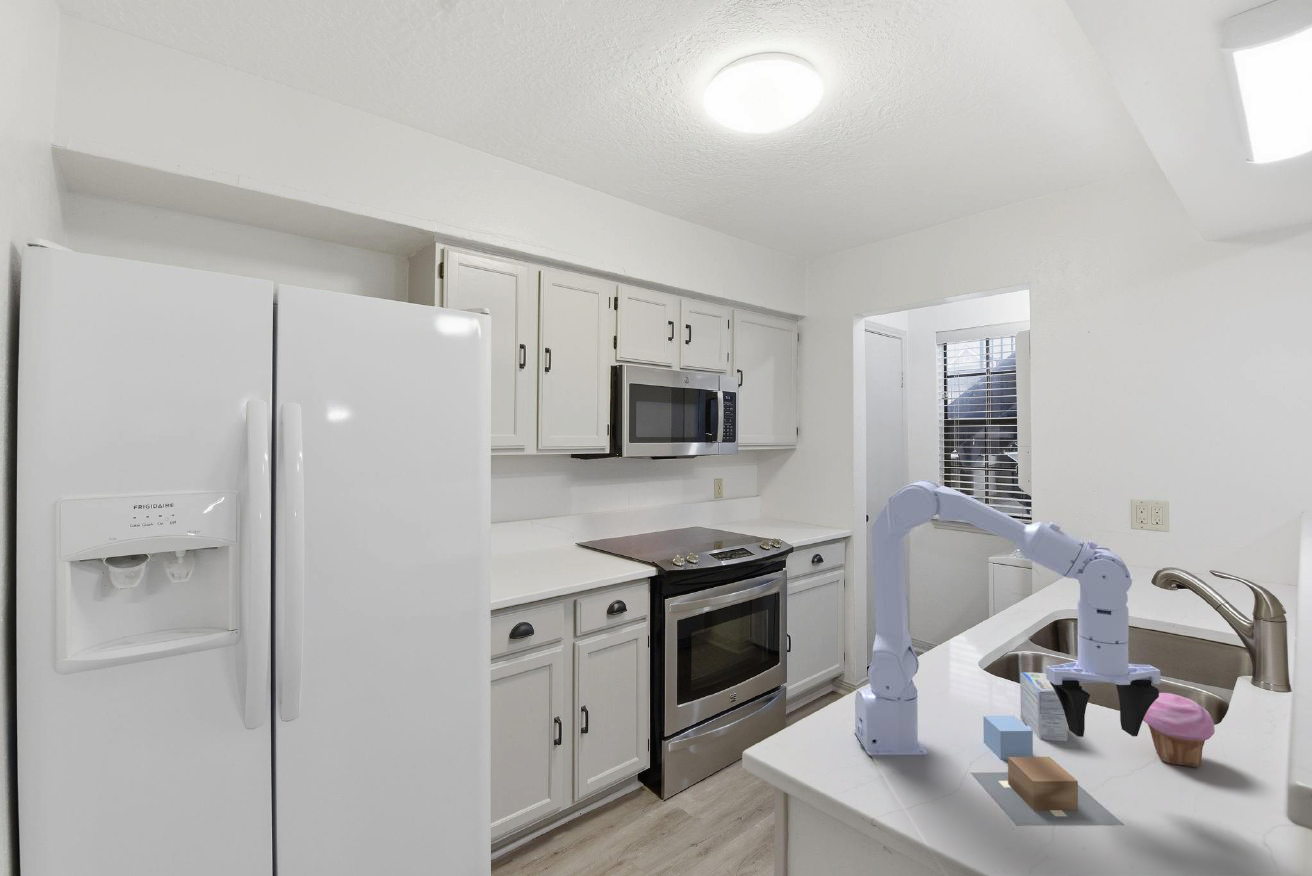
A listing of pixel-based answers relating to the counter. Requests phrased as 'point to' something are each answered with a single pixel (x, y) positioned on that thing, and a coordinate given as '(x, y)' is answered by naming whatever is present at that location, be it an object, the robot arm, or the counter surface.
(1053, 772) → the walnut block
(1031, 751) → the blue cube
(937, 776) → the counter surface
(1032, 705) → the medicine box
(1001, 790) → the board
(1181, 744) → the cupcake
